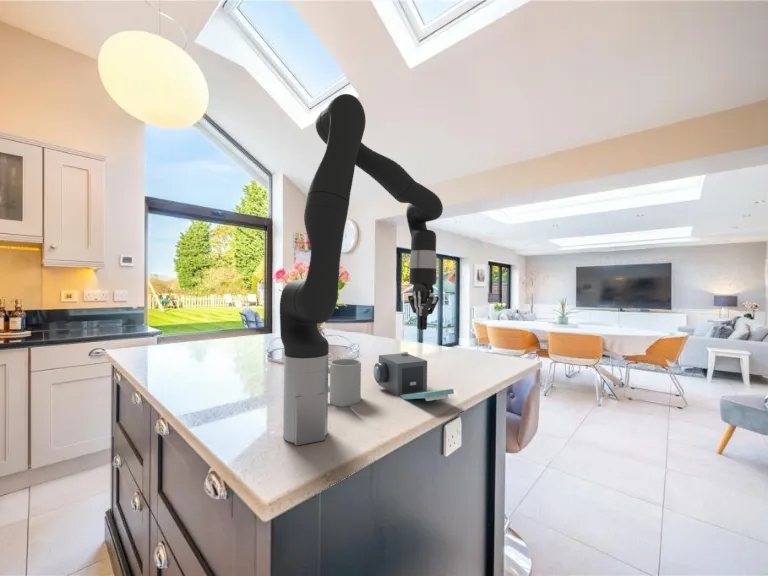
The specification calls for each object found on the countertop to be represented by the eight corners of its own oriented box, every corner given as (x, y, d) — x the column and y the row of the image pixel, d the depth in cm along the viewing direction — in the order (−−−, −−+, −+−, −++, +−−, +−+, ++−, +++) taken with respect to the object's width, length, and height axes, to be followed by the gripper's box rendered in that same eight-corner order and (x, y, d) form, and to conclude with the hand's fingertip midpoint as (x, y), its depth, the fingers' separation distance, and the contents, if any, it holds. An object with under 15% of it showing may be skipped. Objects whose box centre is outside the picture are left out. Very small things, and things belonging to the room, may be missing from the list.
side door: (428, 398, 97) (454, 396, 86) (401, 402, 93) (425, 401, 82) (426, 391, 98) (453, 388, 87) (400, 395, 94) (424, 393, 83)
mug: (361, 396, 96) (362, 359, 96) (359, 407, 87) (359, 365, 87) (320, 396, 96) (321, 358, 96) (314, 406, 87) (314, 365, 87)
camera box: (427, 394, 99) (427, 358, 99) (388, 400, 93) (389, 361, 93) (405, 382, 111) (405, 350, 111) (370, 387, 105) (370, 353, 105)
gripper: (448, 267, 88) (447, 331, 88) (421, 269, 100) (420, 326, 100) (424, 265, 85) (423, 332, 85) (400, 268, 97) (399, 327, 97)
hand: (422, 329), depth 93 cm, fingers closed
